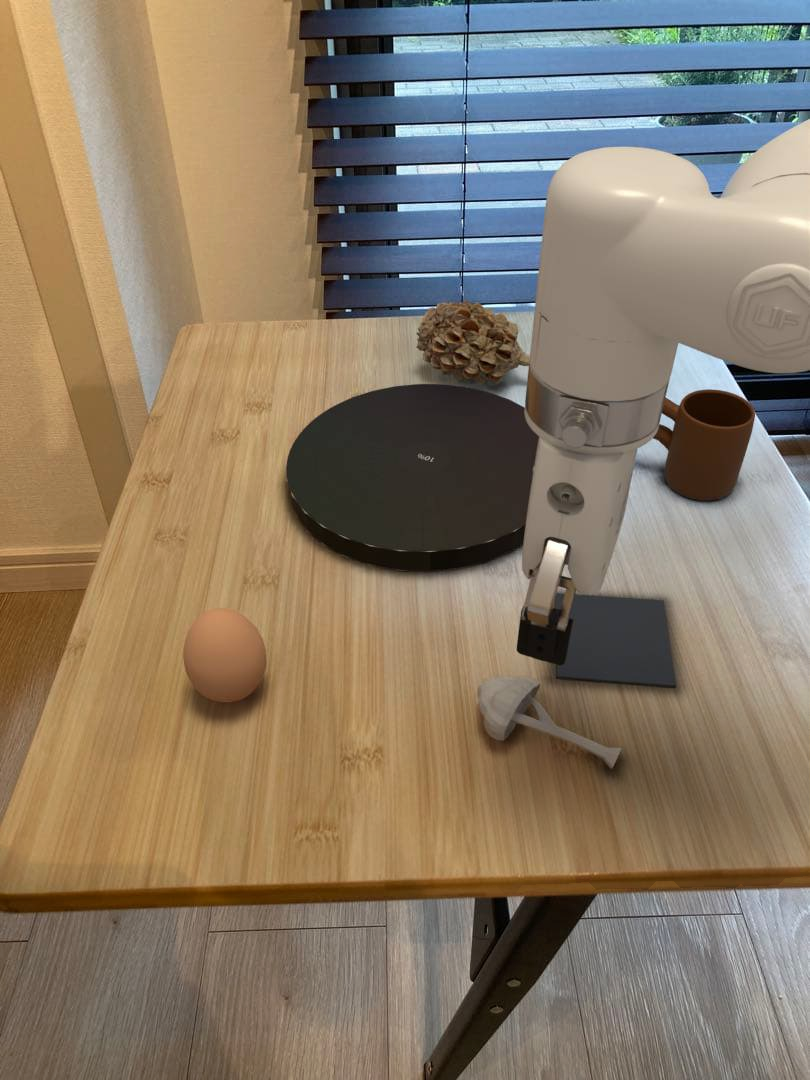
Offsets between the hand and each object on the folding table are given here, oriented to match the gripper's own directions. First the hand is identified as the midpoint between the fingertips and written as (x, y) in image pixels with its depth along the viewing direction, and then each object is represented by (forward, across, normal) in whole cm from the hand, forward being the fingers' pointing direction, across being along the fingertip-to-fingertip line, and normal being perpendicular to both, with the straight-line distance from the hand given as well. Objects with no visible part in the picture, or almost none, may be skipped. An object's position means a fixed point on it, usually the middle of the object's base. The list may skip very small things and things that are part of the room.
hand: (559, 605), depth 58 cm
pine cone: (+15, +50, +18) cm, 55 cm away
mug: (+15, +38, -6) cm, 41 cm away
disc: (+15, +28, +20) cm, 38 cm away
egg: (+16, -5, +25) cm, 30 cm away
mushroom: (+15, 0, -1) cm, 15 cm away
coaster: (+15, +12, -4) cm, 19 cm away
